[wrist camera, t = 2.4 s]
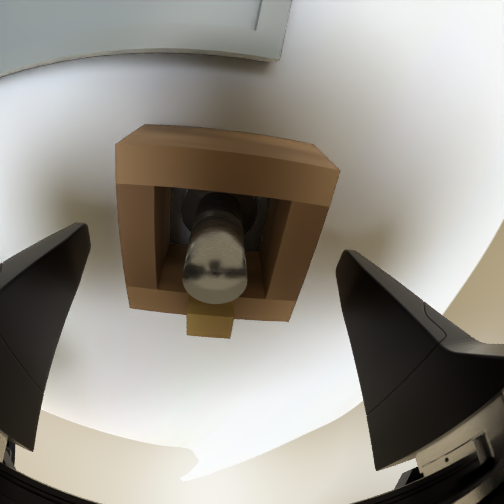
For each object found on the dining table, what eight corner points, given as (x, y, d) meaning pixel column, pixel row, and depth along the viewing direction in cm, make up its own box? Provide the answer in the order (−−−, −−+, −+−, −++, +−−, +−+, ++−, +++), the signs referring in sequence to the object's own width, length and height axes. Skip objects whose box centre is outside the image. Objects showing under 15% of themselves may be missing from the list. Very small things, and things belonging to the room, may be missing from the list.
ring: (145, 262, 13) (124, 327, 10) (144, 124, 9) (101, 155, 6) (278, 274, 14) (292, 340, 11) (313, 144, 10) (353, 183, 7)
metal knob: (181, 235, 12) (163, 312, 8) (184, 169, 10) (159, 229, 7) (249, 241, 13) (258, 320, 9) (262, 178, 11) (279, 241, 7)
